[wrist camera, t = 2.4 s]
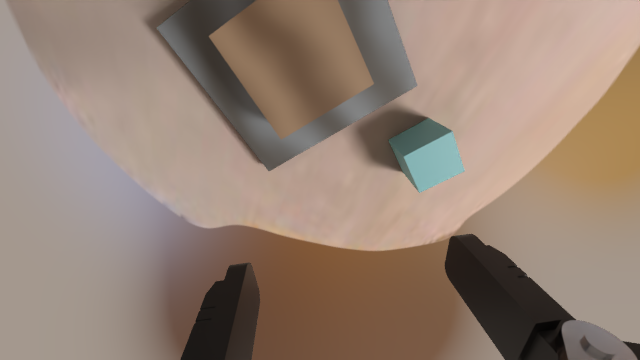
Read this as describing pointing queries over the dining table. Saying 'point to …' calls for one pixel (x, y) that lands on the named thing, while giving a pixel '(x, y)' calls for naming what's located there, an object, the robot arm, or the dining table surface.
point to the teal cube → (427, 154)
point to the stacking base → (243, 105)
